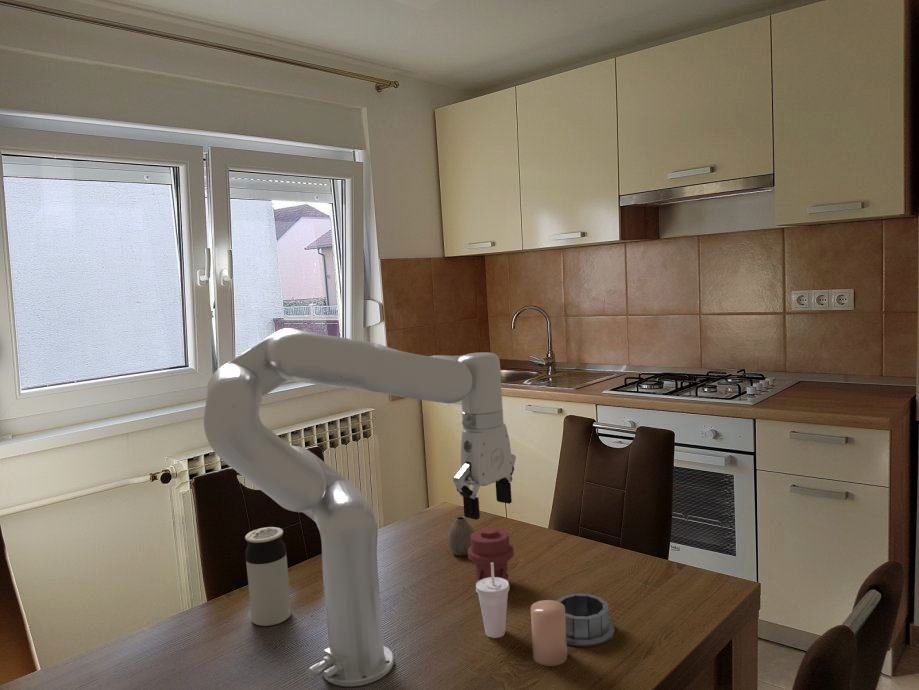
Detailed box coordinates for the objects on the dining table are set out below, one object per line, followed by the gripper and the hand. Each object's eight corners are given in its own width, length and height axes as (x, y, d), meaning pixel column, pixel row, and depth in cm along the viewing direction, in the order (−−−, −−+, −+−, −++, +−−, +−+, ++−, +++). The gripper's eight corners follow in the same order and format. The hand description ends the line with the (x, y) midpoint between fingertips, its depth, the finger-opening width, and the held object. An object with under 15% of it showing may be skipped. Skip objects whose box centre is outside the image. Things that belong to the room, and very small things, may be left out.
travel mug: (298, 609, 147) (291, 527, 145) (279, 628, 139) (271, 541, 138) (265, 607, 149) (257, 525, 147) (244, 625, 142) (235, 539, 140)
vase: (445, 550, 174) (443, 515, 173) (471, 545, 176) (469, 511, 175) (453, 560, 168) (451, 525, 167) (480, 555, 170) (478, 520, 169)
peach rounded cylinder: (555, 669, 119) (552, 619, 119) (526, 659, 123) (523, 610, 122) (573, 654, 124) (571, 605, 123) (545, 644, 128) (542, 597, 127)
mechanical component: (471, 575, 159) (515, 574, 158) (467, 595, 149) (515, 594, 148) (468, 522, 158) (513, 521, 157) (464, 539, 148) (511, 538, 147)
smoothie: (484, 644, 129) (479, 571, 128) (474, 628, 135) (470, 558, 134) (516, 637, 131) (513, 565, 129) (505, 621, 137) (501, 553, 135)
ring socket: (594, 654, 124) (593, 628, 123) (537, 634, 131) (536, 610, 131) (626, 625, 133) (625, 601, 132) (571, 608, 140) (570, 585, 140)
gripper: (468, 432, 120) (475, 528, 122) (526, 412, 133) (531, 499, 135) (436, 427, 125) (442, 520, 126) (495, 409, 138) (500, 493, 139)
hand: (488, 509), depth 131 cm, fingers open, 9 cm apart
